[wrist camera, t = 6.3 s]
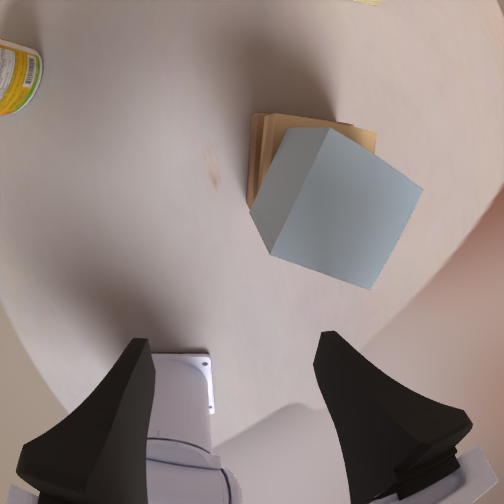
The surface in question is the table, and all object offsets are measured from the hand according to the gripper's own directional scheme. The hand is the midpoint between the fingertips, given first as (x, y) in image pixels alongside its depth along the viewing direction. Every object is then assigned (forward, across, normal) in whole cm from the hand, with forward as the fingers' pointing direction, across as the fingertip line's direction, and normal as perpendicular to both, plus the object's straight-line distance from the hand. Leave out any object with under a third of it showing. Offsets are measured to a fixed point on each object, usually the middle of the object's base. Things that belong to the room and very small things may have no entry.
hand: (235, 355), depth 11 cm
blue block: (+5, -4, -6) cm, 9 cm away
